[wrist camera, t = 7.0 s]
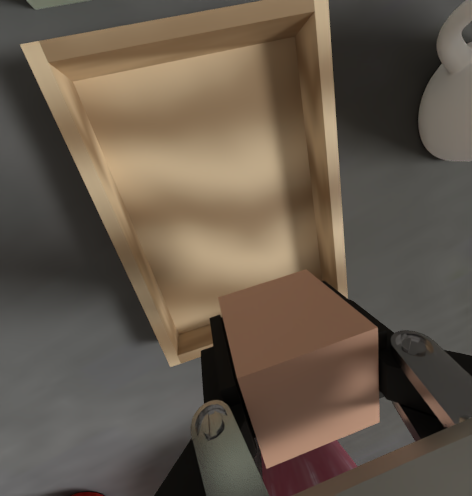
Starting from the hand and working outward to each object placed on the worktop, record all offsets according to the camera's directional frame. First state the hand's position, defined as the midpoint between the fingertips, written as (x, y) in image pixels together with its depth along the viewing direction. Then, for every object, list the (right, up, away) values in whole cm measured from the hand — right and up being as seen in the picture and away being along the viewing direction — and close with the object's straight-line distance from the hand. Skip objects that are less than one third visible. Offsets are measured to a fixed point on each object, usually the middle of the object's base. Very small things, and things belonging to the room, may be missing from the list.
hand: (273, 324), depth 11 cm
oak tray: (-3, +7, +6) cm, 9 cm away
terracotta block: (0, 0, 0) cm, 0 cm away
